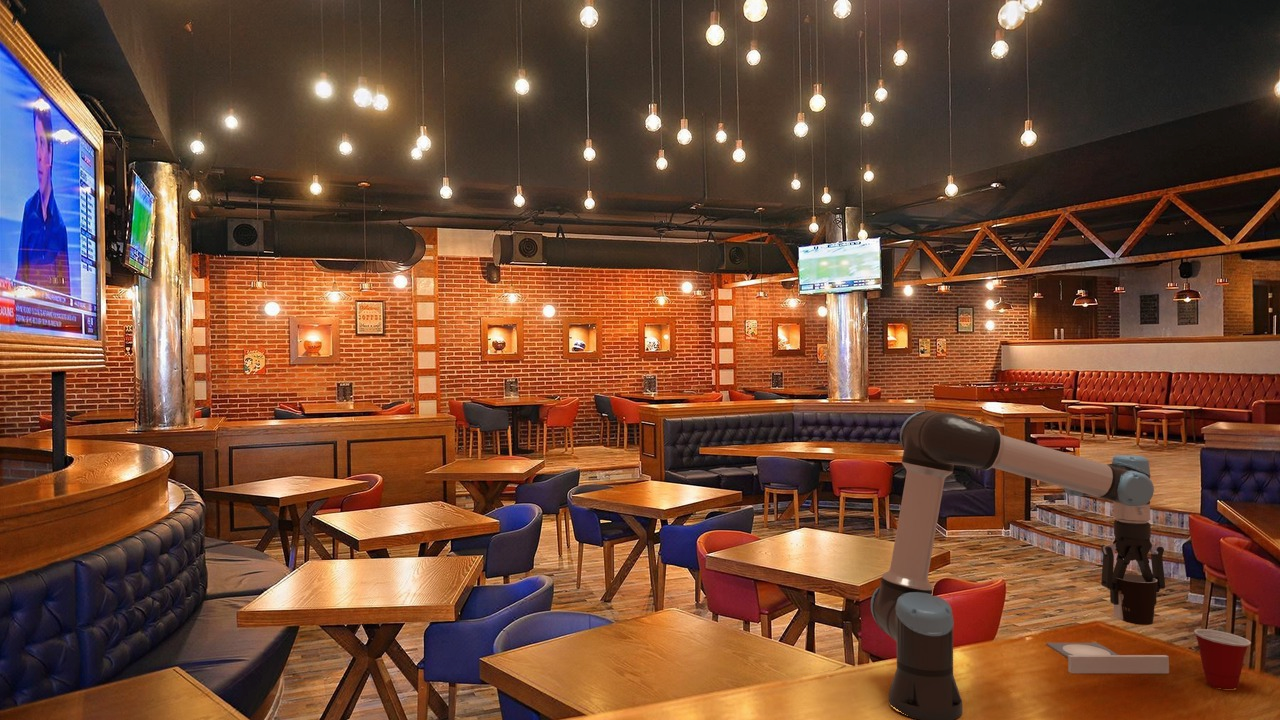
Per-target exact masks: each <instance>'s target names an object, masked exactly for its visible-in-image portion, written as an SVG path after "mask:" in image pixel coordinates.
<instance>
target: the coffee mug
mask: <svg viewBox="0 0 1280 720" xmlns="http://www.w3.org/2000/svg"><path fill="white" fill-rule="evenodd" d="M1116 579H1118V586H1119V591H1118V593H1119V595H1120V598H1121V606H1122V613H1123V620H1122V621H1123V622H1125V623H1128V624H1132V625H1139V626H1148V625H1151V626H1152V625H1153V624H1154V623H1153V622H1154V620H1153V617H1154V615H1155V606H1156V605H1155V600H1156V599H1157V598H1156V597H1157V592H1156V591H1157V582H1158V580H1157V579H1155V578H1153V582H1146V581H1145V580H1144V578H1143V576H1142V574H1134V573H1125V575H1124V578H1123V579H1119V578H1116Z"/></svg>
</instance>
